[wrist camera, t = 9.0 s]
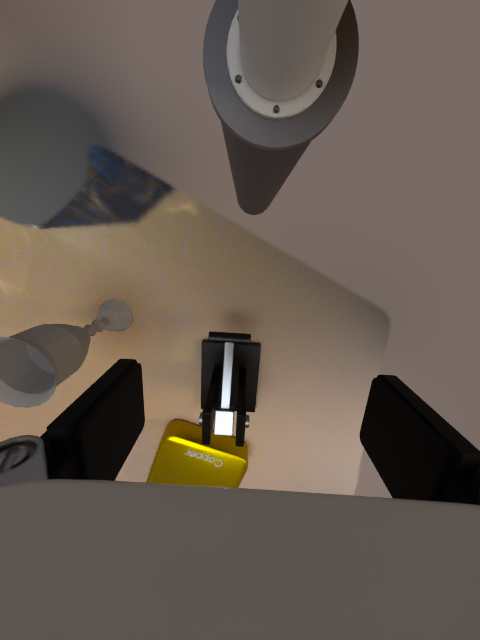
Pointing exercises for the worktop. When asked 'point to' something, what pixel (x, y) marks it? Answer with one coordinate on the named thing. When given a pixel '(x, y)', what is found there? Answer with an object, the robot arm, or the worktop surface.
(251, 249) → the worktop surface
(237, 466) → the element tile
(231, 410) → the lever
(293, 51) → the robot arm
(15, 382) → the chalice
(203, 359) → the bracket
